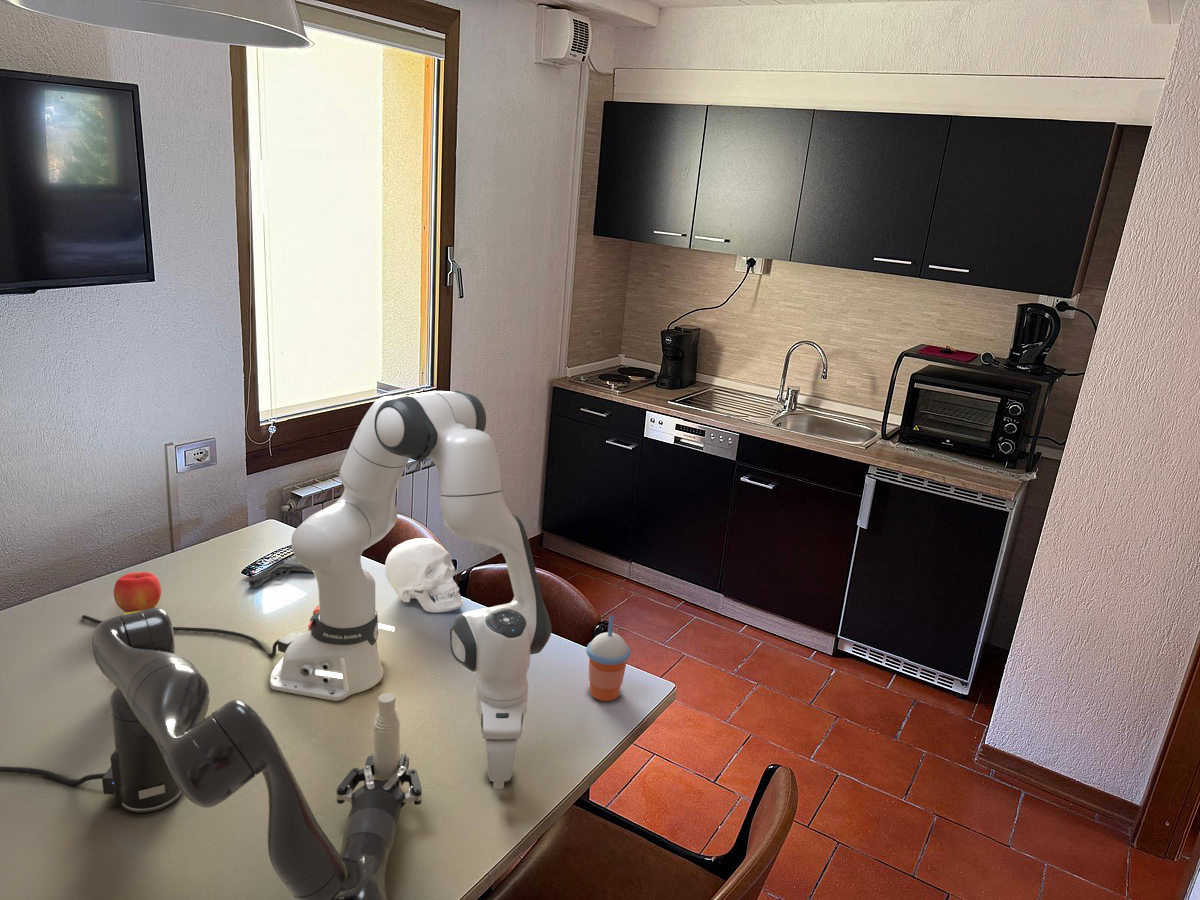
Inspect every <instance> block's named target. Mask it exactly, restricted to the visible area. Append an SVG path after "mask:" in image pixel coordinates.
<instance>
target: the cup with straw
mask: <svg viewBox="0 0 1200 900" xmlns="http://www.w3.org/2000/svg"><path fill="white" fill-rule="evenodd" d="M614 619H615V618H614V616H613V615H609V617H608V627H607V631H606V632H602V633H599V634H597V635H596V636H595V637H594V638H593V639H592V640H591V641H590V642H589V643H588V644H587V646H586V654H587V656H588V680H589V692H590V695H591V696H592V697H593V698H594V699H596V700H597V701H602V702H610V701H614V700H615V699H617V698H618V697H619V695H620V691H621V687H622V684H623V681H624V677H625V671H626V666H627V661H628V660H629V659H630V657H631V649H630V647H629V646H628V644H627V643H626V641H625V640H624V638H623V637H622V636H620V635H619V634H618V633H615V632H613V628H614Z"/></svg>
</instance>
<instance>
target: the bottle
mask: <svg viewBox="0 0 1200 900" xmlns="http://www.w3.org/2000/svg"><path fill="white" fill-rule="evenodd" d="M396 699H397V698H396V695H395V694H394V693H392V692H384V693H381V694H379V696H378V697H377V703H378V711H377V713H376V715H375V718H374V721H373V753H374V775H373V780H381V781H383V780H389V779H390V778H391V776H392V775H393V773H396V772H397V770H398V766H399V762H400V757H401V753H400V752H401V751H400V748H401V747H400V746H401V744H400V743H401V742H400V741H401V723H400V719H399V715H398V712H397V711H396Z"/></svg>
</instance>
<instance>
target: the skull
mask: <svg viewBox="0 0 1200 900" xmlns="http://www.w3.org/2000/svg"><path fill="white" fill-rule="evenodd" d="M384 573H385V577H386V580H387V582H388V584H389V585H390V588H392V590H393V591H394V592H395V593H396V594H397V596H398V598H399V599H400V600H401V601H402V602H404V603H410V601H411V599H416V600H417V601H418V603H419V604H420V605H421V607H422V609H423V610H424V612H425V611H426V612H427V613H433V614H435V613H436V614H437V613H447V612H451V611H454V610H455V611H456V610H458V609H460V608H463V606H464V602H465V601H464V600H463V599H462V596H461V594H460V587H459V586H458V584H457V583H456V581H455V580H454V577H455V576H456V574H457V572H456V568H455V566H454V564H453V561H452V559H451V554H450V552H449V551H447V550H446V549H445V548H444V547H443V545H441V544H440V543H439V542H437V541H436V540H434V539H431V538H425V537H419V538H417V537H416V538H413V539H408V540H405V541H403V542H401V543H399V544H397V545H396V546H393V548H392V549H391V551H389V553H388V554H387V557H386V559H385V563H384ZM430 596H431V597H433V599H434V600H432V599H431V597H430Z"/></svg>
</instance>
